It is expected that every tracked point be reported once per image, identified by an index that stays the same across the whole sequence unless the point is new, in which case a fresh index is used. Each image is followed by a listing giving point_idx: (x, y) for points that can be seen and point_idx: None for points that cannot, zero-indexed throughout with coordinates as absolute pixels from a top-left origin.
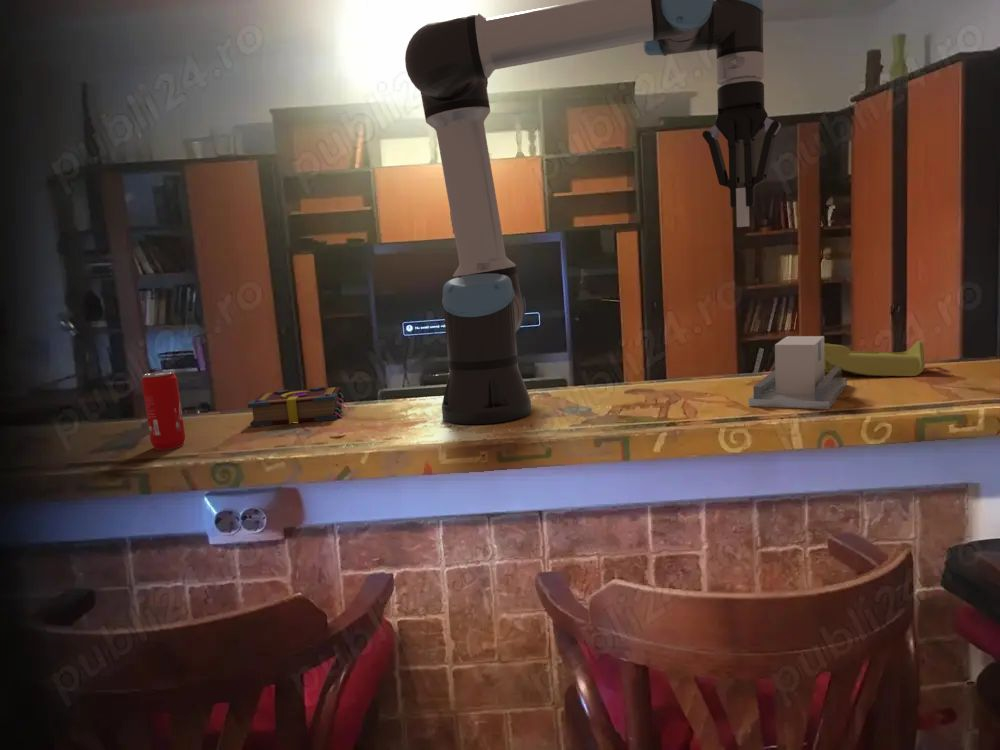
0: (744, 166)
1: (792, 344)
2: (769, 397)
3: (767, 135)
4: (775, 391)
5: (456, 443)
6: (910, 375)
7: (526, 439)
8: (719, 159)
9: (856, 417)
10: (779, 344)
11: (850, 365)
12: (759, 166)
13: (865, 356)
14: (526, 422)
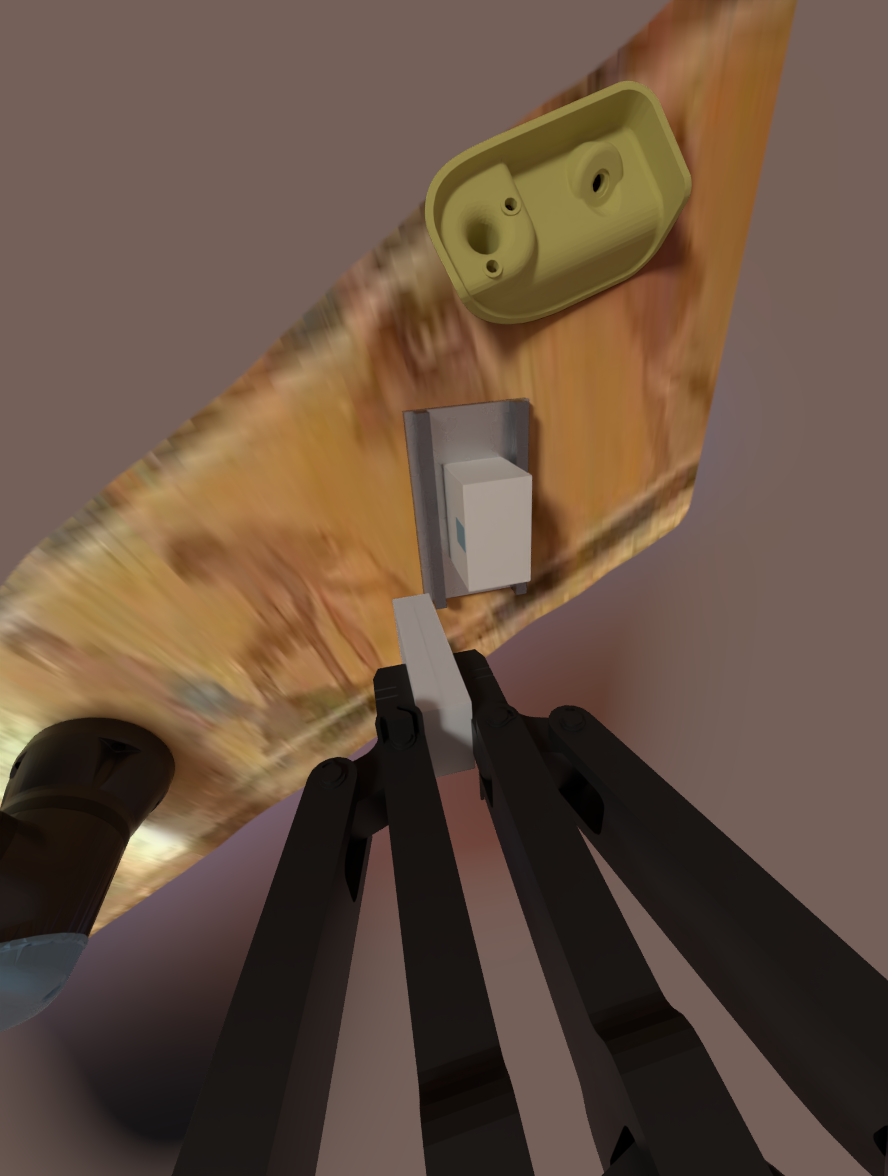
0: (513, 882)
1: (496, 584)
2: (449, 585)
3: (843, 1114)
4: (446, 545)
5: (203, 843)
6: (623, 279)
7: (262, 805)
8: (336, 1030)
9: (555, 604)
10: (475, 588)
11: (530, 303)
12: (603, 846)
13: (564, 270)
14: (197, 766)
